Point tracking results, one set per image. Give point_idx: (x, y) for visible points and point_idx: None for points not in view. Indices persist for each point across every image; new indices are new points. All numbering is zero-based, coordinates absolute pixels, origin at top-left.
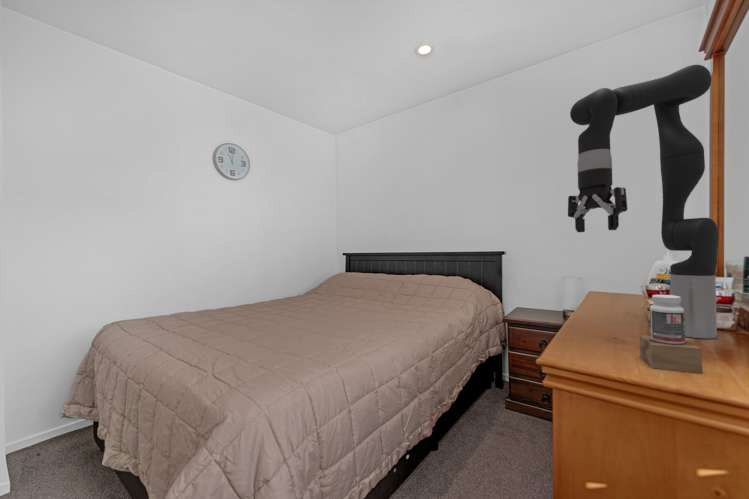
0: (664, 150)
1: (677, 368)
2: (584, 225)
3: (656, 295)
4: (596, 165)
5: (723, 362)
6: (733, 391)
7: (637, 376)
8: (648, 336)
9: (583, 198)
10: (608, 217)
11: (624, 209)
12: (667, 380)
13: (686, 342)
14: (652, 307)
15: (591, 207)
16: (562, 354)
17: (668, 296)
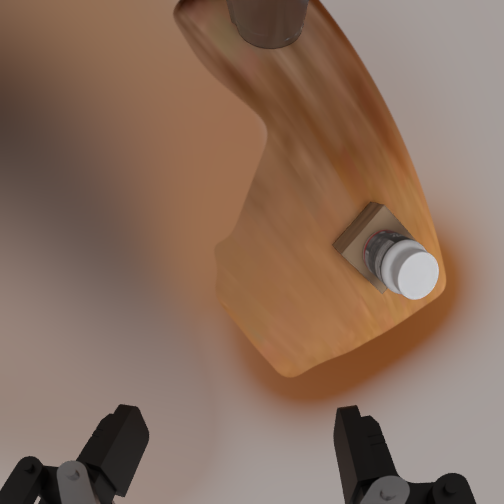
0: None
1: None
2: (119, 432)
3: (405, 283)
4: None
5: (393, 158)
6: (439, 271)
7: (376, 325)
8: (352, 248)
9: None
10: (348, 497)
11: (451, 493)
12: (398, 305)
13: (398, 231)
14: (394, 291)
15: None
16: (276, 344)
17: (424, 277)
